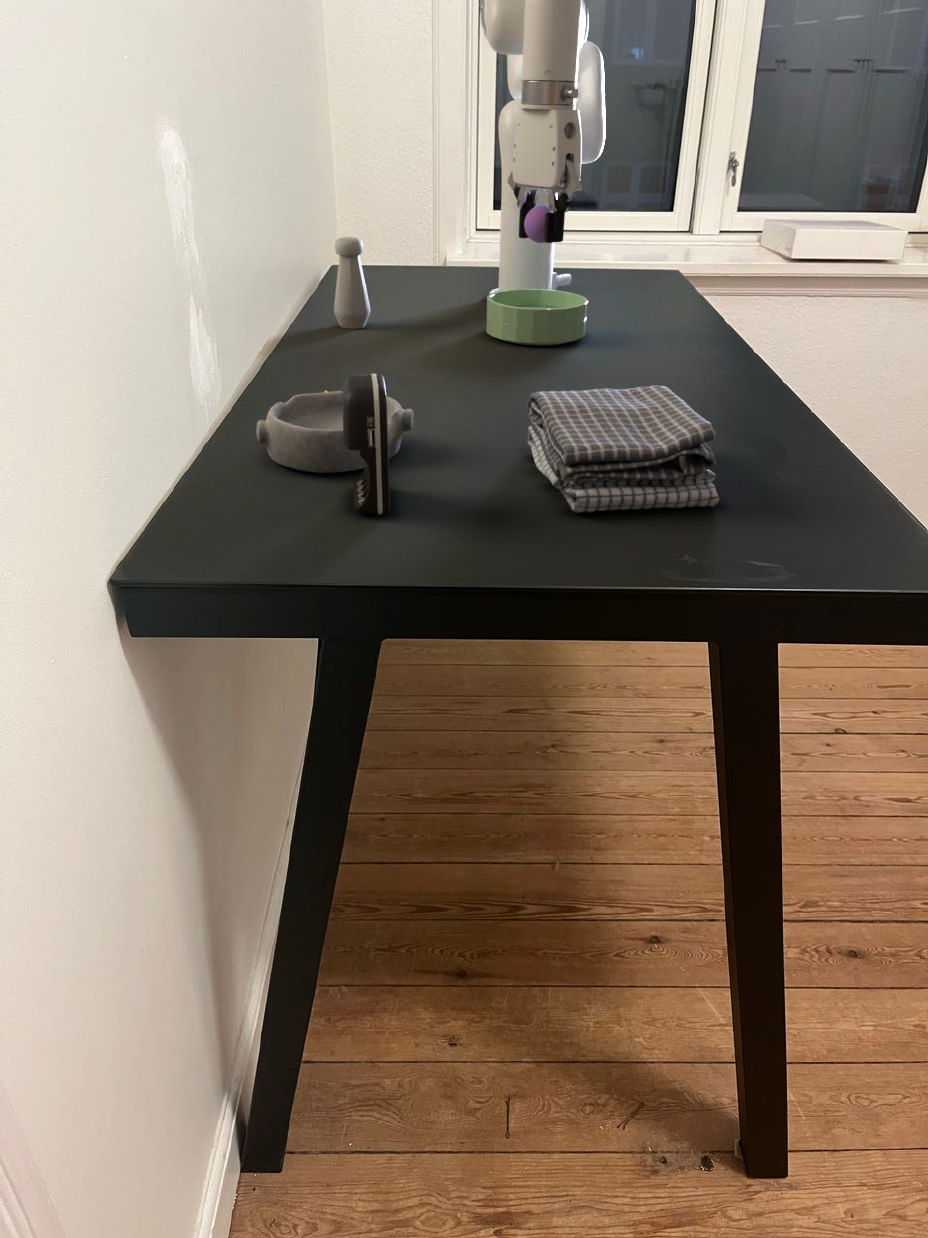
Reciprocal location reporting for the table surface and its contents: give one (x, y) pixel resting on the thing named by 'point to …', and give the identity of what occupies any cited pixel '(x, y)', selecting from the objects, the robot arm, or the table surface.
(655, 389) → the towel
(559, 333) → the bowl
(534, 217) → the ball
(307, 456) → the dish
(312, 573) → the table surface
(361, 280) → the salt shaker
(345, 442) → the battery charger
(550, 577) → the table surface
